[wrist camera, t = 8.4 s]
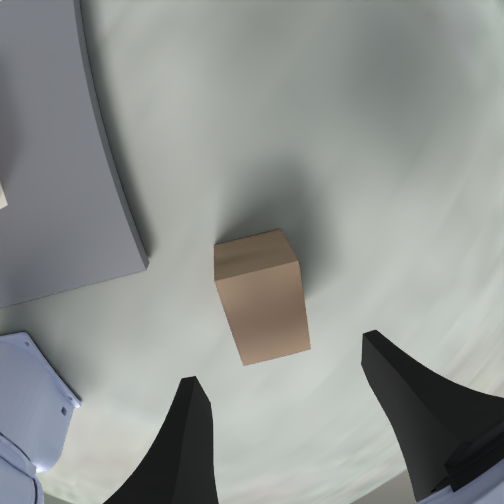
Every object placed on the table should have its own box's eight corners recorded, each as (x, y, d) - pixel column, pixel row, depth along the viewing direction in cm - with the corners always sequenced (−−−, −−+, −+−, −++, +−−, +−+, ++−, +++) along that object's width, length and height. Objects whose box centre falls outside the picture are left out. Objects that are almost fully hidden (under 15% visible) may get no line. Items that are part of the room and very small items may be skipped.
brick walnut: (295, 309, 20) (310, 349, 17) (237, 323, 20) (243, 365, 17) (280, 228, 18) (298, 260, 14) (213, 245, 18) (214, 281, 14)
